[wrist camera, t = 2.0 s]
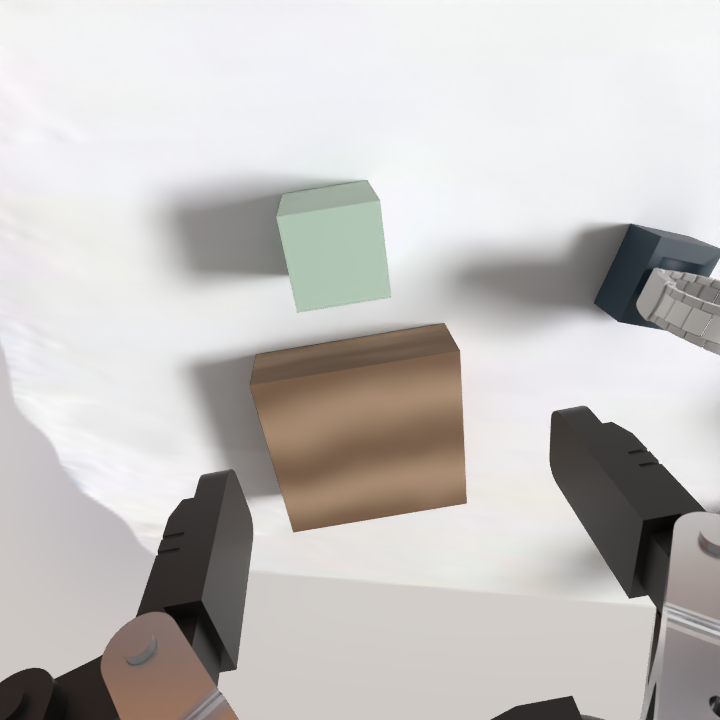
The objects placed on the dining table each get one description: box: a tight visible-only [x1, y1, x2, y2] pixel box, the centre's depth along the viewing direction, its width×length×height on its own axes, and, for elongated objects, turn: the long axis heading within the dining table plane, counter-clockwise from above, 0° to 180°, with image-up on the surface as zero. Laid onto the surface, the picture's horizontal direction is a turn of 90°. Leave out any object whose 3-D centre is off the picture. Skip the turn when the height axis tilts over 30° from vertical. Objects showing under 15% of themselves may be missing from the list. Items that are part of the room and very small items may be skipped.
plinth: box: [250, 323, 467, 532], centre depth 35 cm, size 13×13×4 cm
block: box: [276, 180, 391, 313], centre depth 27 cm, size 5×5×6 cm
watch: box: [594, 224, 720, 355], centre depth 28 cm, size 6×8×11 cm
